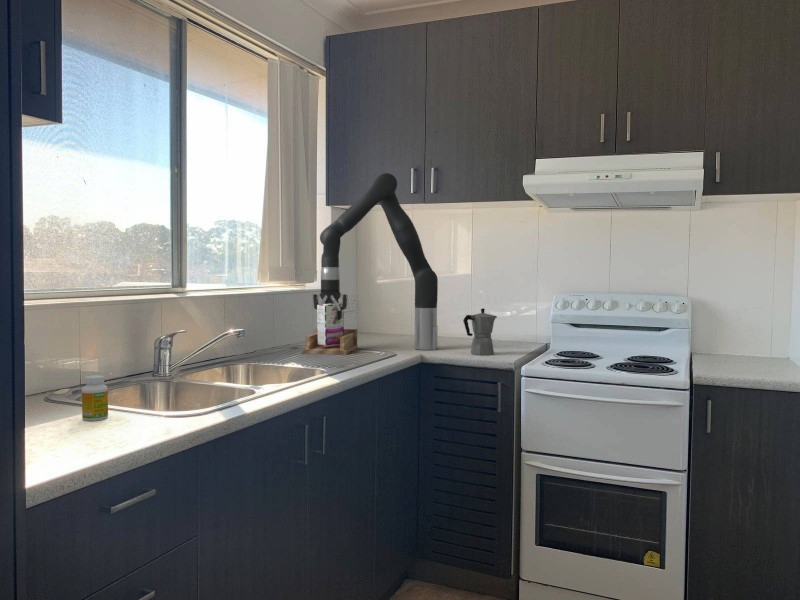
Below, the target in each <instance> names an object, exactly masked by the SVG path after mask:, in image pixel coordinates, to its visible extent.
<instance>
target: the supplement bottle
mask: <svg viewBox="0 0 800 600" xmlns="http://www.w3.org/2000/svg"><path fill="white" fill-rule="evenodd" d="M104 383H105V376H104V375H101V374H96V375H95V374H94V375H92V374H91V375H87V376H85V377H84V384H85V386H83V387H82V388H81V414H82V415H81V417H82V421H86V422H97V421H98V422H99V421H103V420H106V419H107V418H108V417H109V399H108V398H109V397H108V393H109V391H108V390H109V389H108V386H107V385H106V384H104Z"/></svg>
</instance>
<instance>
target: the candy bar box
mask: <svg viewBox="0 0 800 600" xmlns="http://www.w3.org/2000/svg"><path fill="white" fill-rule="evenodd" d="M339 303H340V305H341V307H342V304H343V302H339ZM318 304H319V305H317V309H316V310H317V312H316V313H317V314H316V318H317V321H316V323H317V326H316V327H317V329H318V345H323V346H328V345H334V344H340V337H342V336H344V329H345V327H344V325H345V324H344V323H345V322H344V321H345V320H344V318H345V317H344V313H345V312H344V310H345V309H344V310H342V318H341V319H340V320H338V319H337V311H338V309H337V307H336V306H335V304H330V303H329V304H321V303H318Z"/></svg>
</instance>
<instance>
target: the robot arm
mask: <svg viewBox="0 0 800 600" xmlns="http://www.w3.org/2000/svg"><path fill="white" fill-rule="evenodd" d="M397 187H398V181H397V178H396V177H395V175H393V174H392V173H390V172H389V173H388V172H384V173H381V174H380V175H378V176H377V177H376V178H375V179H374V180H373V182H372V185H371V186H370V188H369V189H368V190H367V191H366V192H365V193H364V194H363V195H362V196H361V197H360V198H359V199H357V200H356V201H355V202H354V203H353V204H351V205H350V206H349V207H348V208H347V209H345V211H344V212H343V213H341V215H340V216H338V217H337V219H336V220H334V221H333V222H332V223H330V224H329V225H328V226H327V227H325V228H324V229H323V230H322V232H321V233H320V235H319V241H320V242H321V244H322V246H323V247H322V249H323V251H322V254H321V259H320V260H321V261H320V263H321V266H320V267H321V269H320V293H314V294H313V296H312V299H313V309H315V310H317V305H319V304H329V303H330V304H335V306H336V307H337V309H338V311H337V319H338V320H340V319H341V318H342V310H346V309H347V306H348V294H347V293H345V294H343V293H342V294H341V290H340V286H341V285H340V283H341V282H340V281H341V279H340V278H341V277H340V276H341V275H340V268H339V267H340V259H339V258H340V251H341V250H340V249H341V239H342V237H343V236H344V235H345V234H347V233H348V232H350V231H351V230H352V229H354V228H355V227H356V226H357V225H358V223H360V222H361V221H362V220H363V219H364V218H365V216H366V215H367V214H368V213H369V212H370V211H372V209H373V208H374V207H376V205H377V204H378V203H379V205H380V206H381V208H382V210H383V212H384V214H385V217H386V220H387V222H388V224H389V227H390V229H391V231H392V232H391V233H392V234H393V236H394V239H395V241H396V243H397V245H398V247H399V249H400V251H401V252H402V254H403V256H404V257H405V259H406V261H407V263H408V264H409V266H410V269H411V272H412V275H413V278H414V349H415V350H419V351H431V350H433V351H434V350H435V351H436V350H437V349H438V330H439V329H438V328H439V327H438V296H439V295H438V292H439V291H438V289H439V288H438V287H439V286H438V285H439V284H438V283H439V281H438V275H437V274H436V272H435V271H434V270H433V269H432V267H431V265H430V264H429V262H428V260H427V258H426V256H425V253H424V250H423V245H422V243H421V240H420V237H419V233H418V231H417V229H416V227H415V225H414V223H413V221H412V219H411V218H410V217H409V215H408V214H407V212H406V211H405V209H404V208H402V206H401V204H400V202H399V200H398V197H397V195H396V190H397ZM319 299H321V303H319ZM339 299H341V300H342V303H343V304H342V307H341V305H340V303H341V302H340V301H339Z"/></svg>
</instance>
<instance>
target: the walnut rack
mask: <svg viewBox="0 0 800 600" xmlns="http://www.w3.org/2000/svg"><path fill="white" fill-rule="evenodd" d="M313 332H314V333H312V334H309V335H306V336H305V348H302V349H301V354H308V355H309V354H311V355H314V354H315V355H345V356H346V355H348V354H350V353H352V352H354V351H355V350H357V349H358V328H355V329H354V328H353V329H351V328H344V336H342V337H340V344H334V345H328V346H323V345H318V329H317V328H316V327H315V328H314V331H313ZM353 350H354V351H353ZM351 351H352V352H351Z"/></svg>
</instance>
